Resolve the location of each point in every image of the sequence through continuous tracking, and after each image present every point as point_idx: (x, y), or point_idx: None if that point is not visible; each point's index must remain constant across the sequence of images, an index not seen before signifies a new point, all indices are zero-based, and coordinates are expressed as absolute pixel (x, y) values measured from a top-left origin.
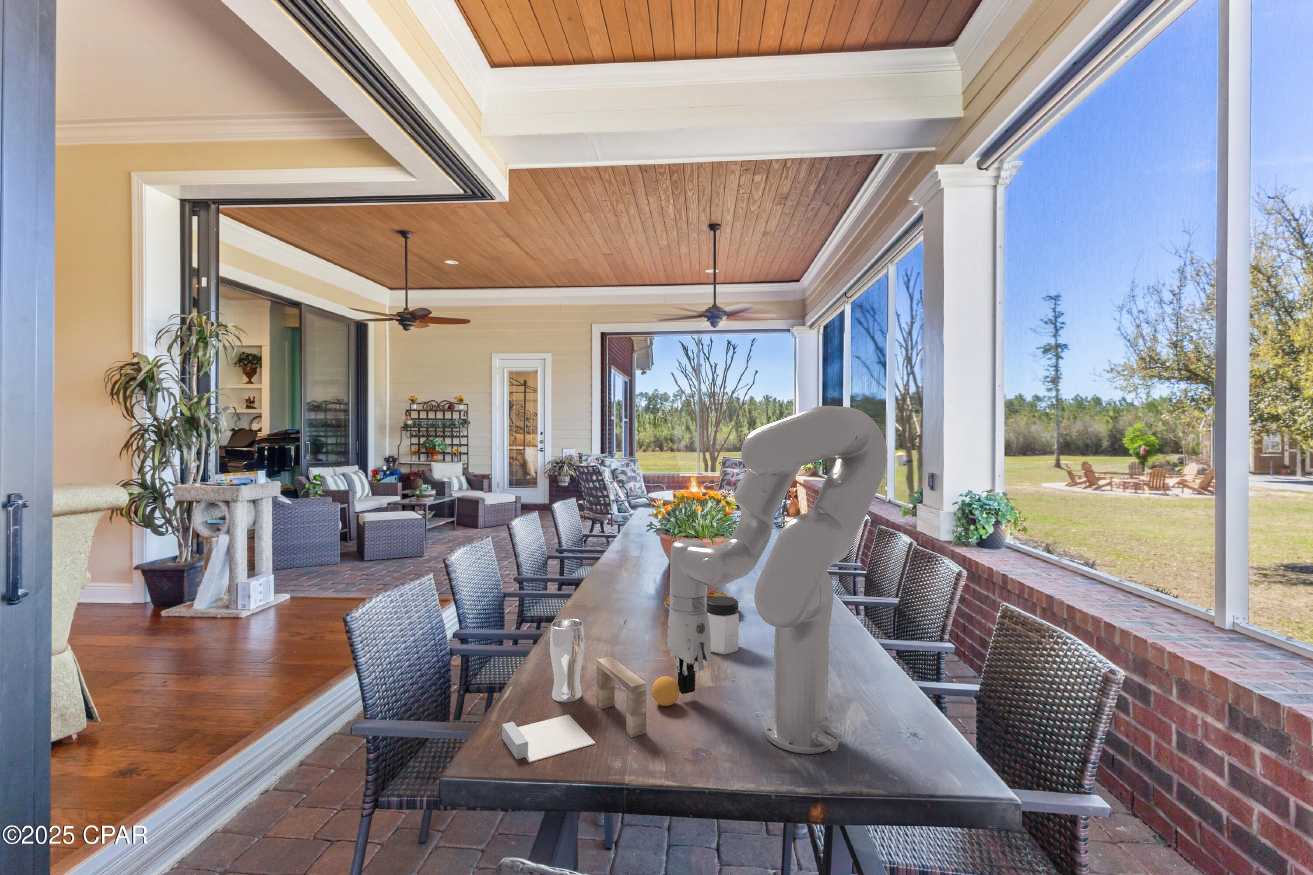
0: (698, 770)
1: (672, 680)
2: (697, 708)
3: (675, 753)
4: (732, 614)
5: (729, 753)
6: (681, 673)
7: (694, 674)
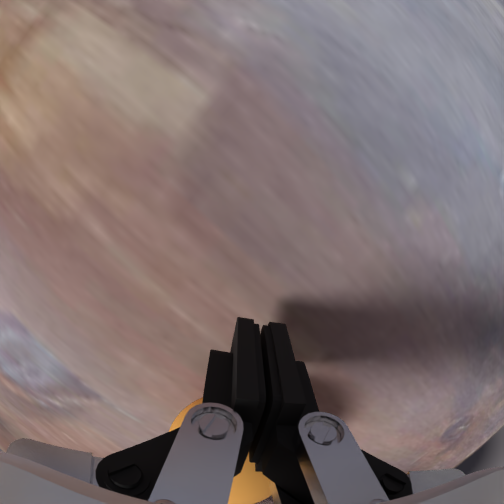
0: (464, 446)
1: (262, 487)
2: (347, 342)
3: (416, 463)
4: None
5: (499, 388)
6: (245, 460)
7: (300, 395)
